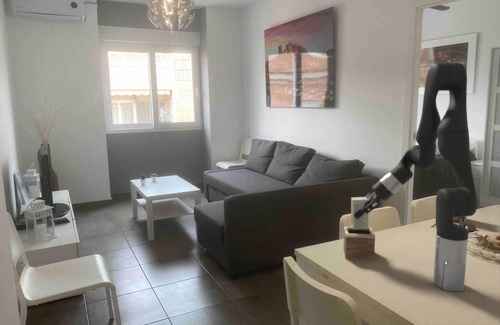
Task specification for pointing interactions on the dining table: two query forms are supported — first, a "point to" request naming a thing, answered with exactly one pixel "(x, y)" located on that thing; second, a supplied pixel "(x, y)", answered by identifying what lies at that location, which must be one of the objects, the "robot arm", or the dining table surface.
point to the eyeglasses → (461, 222)
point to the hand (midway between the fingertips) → (354, 215)
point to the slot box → (359, 243)
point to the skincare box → (355, 207)
